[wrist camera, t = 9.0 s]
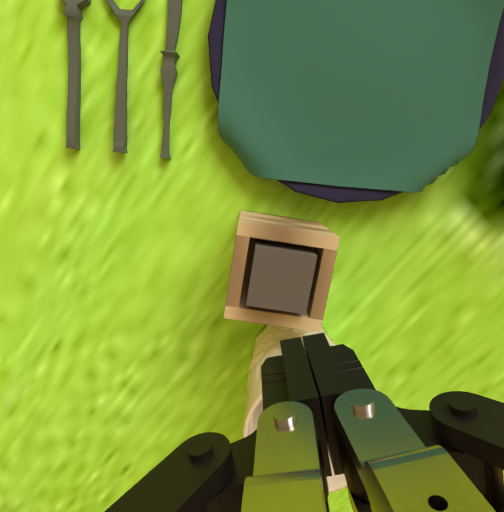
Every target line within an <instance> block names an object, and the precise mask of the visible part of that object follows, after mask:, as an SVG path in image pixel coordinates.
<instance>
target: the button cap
mask: <svg viewBox="0 0 504 512" xmlns="http://www.w3.org/2000/svg"><path fill="white" fill-rule="evenodd" d="M316 261H317V255H316V254H315V252H314V251H313V250H312V249H311V248H310V247H303V246H297V245H290V244H284V243H278V242H271V241H265V240H258V239H255V242H254V249H253V255H252V261H251V267H250V273H249V279H248V285H247V291H246V306H252V307H259V308H266V309H273V310H279V311H286V312H293V313H299V314H306V311H307V306H308V301H309V296H310V291H311V286H312V281H313V276H314V271H315V266H316Z"/></svg>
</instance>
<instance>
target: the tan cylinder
mask: <svg viewBox="0 0 504 512" xmlns="http://www.w3.org/2000/svg"><path fill="white" fill-rule="evenodd" d="M318 333H324V334H325V336H326V338H327V341H328V343H329V345H330V346H335V345H336V344H335V343H334V342H333V340H332V339H331V338H330V336H329V335H328V334H327V333H326V331H325V330H324V329H323V328H322V326H321V330H320V332H315V331H308V330H301V329H294V328H287V327H281V326H274V325H267V326H266V328H265V329H264V330H263V331H262V332H261V333H260V335H259V336H258V337H257V338H256V340H255V344H254V348H253V352H252V356H251V363H250V368H249V375H248V382H247V393H246V405H245V417H244V427H243V438H245V437H247V436H248V435H250V434H251V433H253V432H254V431H255V430H256V429H257V424H258V418H259V416H260V414H261V413H262V412H263V401H262V381H261V378H262V377H261V366H262V364H263V363H264V361H265V360H266V358H268V357H274V356H279V355H282V352H281V346H280V340H285V339H291V338H296V337H301V339H302V343H303V338H302V336H307V335H313V334H318ZM303 346H304V345H303ZM328 454H329V452H328ZM329 460H330V456H329ZM330 465H331V471H332V476H329V477H327V482H328V488H329V493H332V492H335V491H338V490H340V489H343V488H345V487H347V482H346V479H345V476H344V474H340V475H335V474H334V470H333V467H332V463H331V460H330Z"/></svg>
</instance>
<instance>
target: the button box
mask: <svg viewBox="0 0 504 512" xmlns="http://www.w3.org/2000/svg"><path fill="white" fill-rule="evenodd" d="M255 239H258V240H265V241H271V242H278V243H284V244H290V245H297V246H303V247H310V248H311V249H312V250H313V251H314V252H315V254H316V255H317V261H316V266H315V271H314V276H313V281H312V286H311V291H310V296H309V301H308V306H307V311H306V314H299V313H293V312H286V311H279V310H273V309H266V308H259V307H252V306H246V291H247V285H248V279H249V273H250V267H251V261H252V255H253V249H254V242H255ZM339 240H340V237H339V236H338V235H336V234H335V233H333V232H332V231H330V230H329V229H328V228H326V227H325V226H323V225H322V224H321V223H319V222H313V221H307V220H300V219H294V218H288V217H282V216H275V215H269V214H263V213H256V212H250V211H244V210H241V212H240V216H239V221H238V227H237V234H236V240H235V247H234V253H233V260H232V266H231V273H230V279H229V286H228V293H227V299H226V306H225V312H224V318H226V319H233V320H240V321H247V322H253V323H260V324H267V325H274V326H281V327H287V328H294V329H301V330H308V331H315V332H320V330H321V325H322V321H323V316H324V311H325V306H326V302H327V297H328V292H329V287H330V283H331V278H332V273H333V269H334V264H335V259H336V254H337V250H338V245H339Z"/></svg>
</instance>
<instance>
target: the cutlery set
mask: <svg viewBox="0 0 504 512" xmlns="http://www.w3.org/2000/svg"><path fill="white" fill-rule="evenodd" d="M62 1H63V2H64V3H65V4H66V6H65V8H64V11H63V12H64V13H65V14H66V16H67V17H68V52H69V76H68V104H67V144H66V148H73V149H80V104H81V46H80V20H82V19H83V16H82V11H81V9H82V8H84V7H86V6H88V5H89V4H91V0H62ZM144 1H145V0H141V1H140V2H139V3H138V4H137V5H136V7H135V8H134V9H133V10H123V9H120V8H119V7H118V6H117V4H116V3H115V2H114V0H107V2H108V4H109V5H110V7H111V8H112V10H113V12H114V13H115V15H116V16H117V18H118V19H119V20H120V22H121V23H122V26H121V37H120V50H119V64H118V76H117V91H116V110H115V128H114V149H113V152H121V153H127V148H126V147H127V68H128V28H129V23H130V20H131V18H132V16H133V15H134V14H135V12H136V11H137V10H138V8H139V7H140V6H141V4H142V3H143V2H144ZM181 12H182V0H169V4H168V26H167V47H166V50H165V51H160V52H161V53H162V54H163V56H164V64H163V66H162V68H161V74H162V79H163V85H164V132H163V145H162V154H161V156H160V157H163V158H171V157H170V156H169V125H170V116H171V106H172V90H173V87H174V83H175V80H176V77H177V71H176V67H175V63H176V60H177V59H178V58H179V55H178V54H177V53H176V52H175V49H176V44H177V40H178V34H179V28H180V23H181ZM208 42H209V55H210V68H211V81H212V88H213V91H214V93H215V96H216V98H217V101H218V103H219V105H218V129H219V133H220V135H221V138H222V139H223V140H224V141H225V142H226V143H227V144H228V145H229V146H230V147H231V148H232V150H233V151H234V152H235V153H236V154H237V156H238V157H239V158H240V159H241V161H242V162H243V164H244V165H245V167H246V168H247V170H248V171H249V172H250V173H251V174H253V175H254V176H257V177H261V178H267V179H277V180H278V181H280V182H281V183H283V184H284V185H286V186H287V187H289V188H290V189H292V190H294V191H295V192H299V193H302V194H306V195H310V196H314V197H318V198H321V199H325V200H329V201H333V202H337V203H341V202H358V201H374V200H383V199H386V198H388V197H391V196H393V195H396V194H398V193H401V192H414V193H415V192H422V190H423V189H424V187H425V186H426V185H429V184H431V183H433V182H434V181H435V179H436V178H437V176H440V175H443V174H445V173H446V172H447V170H448V169H449V167H452V166H454V165H457V164H458V162H459V161H460V159H461V158H463V157H466V156H468V155H469V154H470V153H471V151H472V149H473V148H474V146H475V143H476V140H477V137H478V132H479V130H480V128H481V127H482V125H483V124H484V123H485V121H486V120H487V118H488V117H489V116H490V114H491V112H492V109H493V106H494V103H495V101H496V98H497V95H498V92H499V90H500V87H501V84H502V81H503V79H504V0H216V1H215V6H214V10H213V15H212V20H211V24H210V29H209V34H208Z"/></svg>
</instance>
